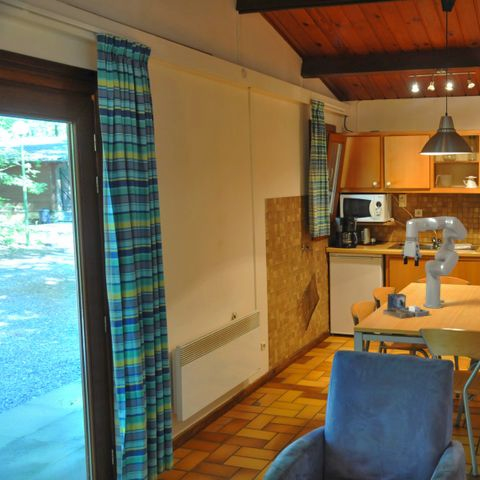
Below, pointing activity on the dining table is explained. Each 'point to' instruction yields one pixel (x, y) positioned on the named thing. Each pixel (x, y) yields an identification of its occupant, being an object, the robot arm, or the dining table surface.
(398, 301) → the small box
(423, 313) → the charcoal tray
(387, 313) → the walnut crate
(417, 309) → the letter cube
